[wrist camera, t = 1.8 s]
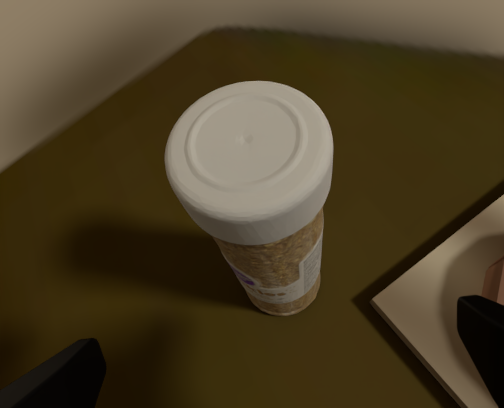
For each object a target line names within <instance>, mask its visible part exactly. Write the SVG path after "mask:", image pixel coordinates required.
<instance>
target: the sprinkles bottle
mask: <svg viewBox="0 0 504 408" xmlns="http://www.w3.org/2000/svg"><path fill="white" fill-rule="evenodd" d="M332 164H333V139H332V132H331V129H330V126H329V123H328V121H327V119H326V117H325V115H324V113H323V112H322V111H321V109H320V108H319V107H318V106H317V105H316V103H315V102H314V101H313V100H311V99H310V98H309V97H307V96H306V95H305V94H303V93H302V92H300V91H298V90H296V89H294V88H291V87H289V86H286V85H283V84H279V83H274V82H267V81H247V82H240V83H235V84H231V85H227V86H224V87H222V88H219V89H216V90H214V91H212V92H210V93H208V94H207V95H205V96H203V97H202V98H200V99H199V100H197V101H196V102H195V103H194V104H192V105H191V106H190V107H189V108H188V109H187V110H186V111H185V112H184V113H183V114H182V115H181V117H180V118H179V119H178V121H177V122H176V124H175V125H174V127H173V129H172V131H171V133H170V136H169V138H168V141H167V145H166V150H165V167H166V173H167V177H168V180H169V183H170V185H171V187H172V189H173V191H174V192H175V194H176V196H177V197H178V199H179V200H180V202H181V204H182V205H183V207H184V208H185V209H186V211H187V212H188V214H189V215H190V216H191V218H192V219H193V220H194V221H195V222H196V224H197V225H199V226H200V227H201V228H202V229H203V230H204V231H206V232H207V233H209V234H210V235H212V237H213V239H214V240H215V241H216V243H217V244H218V246H219V247H220V249H221V253H222V254H223V256H224V258H225V259H226V261H227V262H228V264H229V265H230V267H231V268H232V270H233V271H234V273H235V275H236V276H237V278H238V279H239V281H240V283H241V284H242V286H243V287H244V288H245V290H246V293H247V295H248V297H249V298H250V300H251V302H252V303H253V304H254V305H255V306H257V307H258V308H259V309H260V310H261V311H264V312H266V313H268V314H271V315H276V316H289V315H293V314H296V313H299V312H300V311H302V310H303V309H305V308H306V307H307V306H308V305H309V304H310V303H311V302H312V301H313V300H314V299H315V298H316V295H317V292H318V289H319V286H320V264H321V250H322V235H323V222H324V220H323V204H324V203H325V200H326V198H327V195H328V193H329V189H330V185H331V177H332Z"/></svg>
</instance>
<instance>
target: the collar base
mask: <svg viewBox="0 0 504 408" xmlns="http://www.w3.org/2000/svg"><path fill="white" fill-rule="evenodd" d="M468 295H479V296H482V297H484V298H487V299H489V300H492V301H494V302H497V303H499V304H502V305H504V195H502V196H501V197H500V198H499V199H497V200H496V201H495V202H494V203H492V204H491V205H490V206H489V207H487V208H486V209H485V210H483V211H482V212H481V213H480V214H478V215H477V216H476V217H475V218H473V219H472V220H471V221H470V222H468V223H467V224H466V225H465V226H463V227H462V228H461V229H460V230H458V231H457V232H456V233H455V234H453V235H452V236H451V237H450V238H448V239H447V240H446V241H444V242H443V243H442V244H441V245H439V246H438V247H437V248H436V249H434V250H433V251H432V252H431V253H429V254H428V255H427V256H426V257H424V258H423V259H422V260H421V261H419V262H418V263H417V264H416V265H414V266H413V267H412V268H411V269H409V270H408V271H407V272H405V273H404V274H403V275H402V276H400V277H399V278H398V279H397V280H395V281H394V282H393V283H392V284H390V285H389V286H388V287H387V288H385V289H384V290H383V291H382V292H380V293H379V294H378V295H377V296H375V297H374V298H373V299H372V300H371V301H370V304H371V305H372V307H373V308H374V309H375V310H376V311H377V312H378V313H379V315H380V316H381V317H382V318H383V319H384V320H385V321H386V323H387V324H388V325H389V326H390V327H391V328H392V329H393V331H394V332H395V333H396V334H397V335H398V336H399V337H400V339H401V340H402V341H403V342H404V343H405V344H406V345H407V347H408V348H409V349H410V350H411V351H412V352H413V353H414V354H415V356H416V357H417V358H418V359H419V360H420V361H421V362H422V364H423V365H424V366H425V367H426V368H427V369H428V370H429V372H430V373H431V374H432V375H433V376H434V377H435V378H436V380H437V381H438V382H439V383H440V384H441V385H442V386H443V388H444V389H445V390H446V391H447V392H448V393H449V394H450V396H451V397H452V398H453V399H454V400H455V401H456V402H457V404H458V405H459V406H460V407H461V408H499V407H498V406H497V404H496V403H495V401H494V400H493V398H492V396H491V394H490V393H489V391H488V389H487V387H486V385H485V384H484V382H483V380H482V378H481V376H480V374H479V372H478V370H477V369H476V367H475V365H474V363H473V361H472V359H471V357H470V355H469V354H468V352H467V350H466V348H465V346H464V344H463V342H462V340H461V339H460V337H459V334H458V331H457V300H458V298H459V297H461V296H468Z"/></svg>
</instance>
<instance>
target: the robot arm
mask: <svg viewBox="0 0 504 408" xmlns="http://www.w3.org/2000/svg"><path fill="white" fill-rule="evenodd" d="M457 331H458V334H459V337H460V339H461V340H462V342H463V344H464V346H465V348H466V350H467V352H468V354H469V355H470V357H471V359H472V361H473V363H474V365H475V367H476V369H477V370H478V372H479V374H480V376H481V378H482V380H483V382H484V384H485V385H486V387H487V389H488V391H489V393H490V394H491V396H492V398H493V400H494V401H495V403H496V404H497V406H498V407H499V408H504V305H502V304H499V303H497V302H494V301H492V300H489V299H487V298H484V297H482V296H479V295H468V296H461V297H459V298H458V300H457ZM105 373H106V362H105V359H104V357H103V354H102V351H101V348H100V345H99V343H98V341H97V340H96V339H94V338H89V339H81V340H78V341H76V342H75V343H73V344H72V345H70V346H69V347H67V348H65V349H64V350H62V351H61V352H59V353H58V354H56V355H55V356H53V357H51V358H50V359H48V360H47V361H45V362H44V363H42V364H41V365H39V366H37V367H36V368H34V369H33V370H31V371H30V372H28V373H27V374H25V375H23V376H22V377H20V378H19V379H17V380H16V381H14V382H13V383H11V384H9V385H8V386H6V387H5V388H3V389H2V390H0V408H95V404H96V401H97V398H98V395H99V392H100V389H101V386H102V383H103V380H104V377H105Z"/></svg>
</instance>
